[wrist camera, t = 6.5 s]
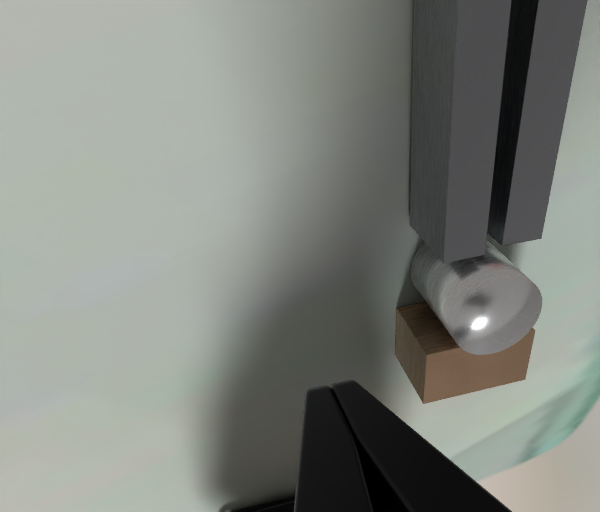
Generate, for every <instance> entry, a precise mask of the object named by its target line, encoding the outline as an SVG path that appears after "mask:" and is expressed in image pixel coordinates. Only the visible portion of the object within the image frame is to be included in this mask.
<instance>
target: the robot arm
mask: <svg viewBox="0 0 600 512" xmlns="http://www.w3.org/2000/svg"><path fill="white" fill-rule="evenodd" d="M238 512H512V511H511V510H509V509H508V508H507V507H506V506H505V505H504V504H502V503H501V502H500V501H499V500H498V499H496V498H495V497H494V496H493V495H491V494H490V493H489V492H488V491H487V490H485V489H484V488H483V487H482V486H481V485H479V484H478V483H477V482H476V481H475V480H473V479H472V478H471V477H470V476H469V475H467V474H466V473H465V472H464V471H463V470H461V469H460V468H459V467H458V466H457V465H455V464H454V463H453V462H452V461H451V460H449V459H448V458H447V457H446V456H445V455H443V454H442V453H441V452H440V451H439V450H437V449H436V448H435V447H434V446H432V445H431V444H430V443H429V442H428V441H426V440H425V439H424V438H423V437H422V436H420V435H419V434H418V433H417V432H416V431H414V430H413V429H412V428H411V427H410V426H408V425H407V424H406V423H405V422H404V421H402V420H401V419H400V418H399V417H398V416H396V415H395V414H394V413H393V412H392V411H390V410H389V409H388V408H387V407H386V406H384V405H383V404H382V403H381V402H379V401H378V400H377V399H376V398H375V397H373V396H372V395H371V394H370V393H369V392H367V391H366V390H365V389H364V388H363V387H361V386H360V385H359V384H358V383H357V382H355V381H353V380H348V381H344V382H339V383H334V384H332V385H331V386H330V387H329V386H327V385H325V386H320V387H315V388H311V389H308V390H307V391H306V393H305V402H304V412H303V423H302V433H301V443H300V454H299V464H298V475H297V485H296V495H295V497H292V498H288V499H285V500H281V501H277V502H273V503H269V504H265V505H261V506H257V507H254V508H250V509H246V510H242V511H238Z"/></svg>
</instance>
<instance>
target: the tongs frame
mask: <svg viewBox="0 0 600 512" xmlns="http://www.w3.org/2000/svg"><path fill="white" fill-rule="evenodd" d="M586 4H587V0H511V9H510V19H509V28H508V38H507V47H506V57H505V67H504V76H503V86H502V95H501V105H500V114H499V124H498V133H497V143H496V152H495V162H494V171H493V181H492V190H491V200H490V209H489V219H488V228H487V233H488V234H489V235H490V236H491V237H493V238H494V239H495V240H496V241H497V242H498V243H499V244H500V245H501V246H505V245H510V244H515V243H520V242H526V241H531V240H536V239H541V237H542V232H543V227H544V222H545V217H546V211H547V206H548V201H549V196H550V191H551V185H552V180H553V175H554V170H555V165H556V159H557V154H558V149H559V144H560V139H561V134H562V128H563V123H564V118H565V113H566V108H567V102H568V97H569V92H570V87H571V82H572V77H573V71H574V66H575V61H576V56H577V51H578V45H579V40H580V35H581V30H582V25H583V19H584V14H585V9H586ZM411 278H412V281H413V284H414V285H415V287H416V288H417V290H418V291H419V292H420V294H421V295H422V296H423V298H424V299H425V301H426V302H423V303H419V304H414V305H409V306H404V307H399V308H397V311H396V345H395V355H396V357H397V359H398V360H399V362H400V364H401V366H402V367H403V369H404V371H405V373H406V374H407V376H408V378H409V380H410V381H411V383H412V385H413V387H414V388H415V390H416V392H417V394H418V395H419V397H420V399H421V401H422V402H423V404H425V403H429V402H433V401H437V400H442V399H446V398H450V397H454V396H458V395H462V394H467V393H471V392H475V391H479V390H483V389H487V388H492V387H496V386H500V385H504V384H508V383H513V382H517V381H521V380H525V377H526V373H527V368H528V363H529V358H530V353H531V349H532V344H533V339H534V334H535V330H534V329H533V328H532V327H533V326H534V324H535V323H536V321H537V319H538V317H539V315H540V312H541V308H542V296H541V293H540V290H539V289H538V287H537V286H536V285H535V284H534V283H533V282H532V281H531V280H530V279H529V278H527V277H526V276H525V275H524V274H523V273H522V272H521V271H520V270H519V269H518V268H517V267H516V266H515V265H514V264H512V263H511V262H510V261H509V260H508V259H507V258H506V257H505V256H504V255H503V254H502V253H501V252H500V251H498V250H497V249H496V248H495V247H494V246H493V245H492V244H491V243H490V242H489V241H488V240H487V239H486V247H485V255H481V256H476V257H472V258H467V259H463V260H458V261H454V262H449V263H444V264H443V263H442V261H441V260H440V259H439V258H438V257H437V256H436V255H435V253H434V252H433V251H432V250H431V249H430V248H429V247H428V245H427V244H426V243H425V242H424V243H423V244H422V246H421V247H420V248H419V249H418V251H417V253H416V254H415V256H414V259H413V261H412V265H411Z"/></svg>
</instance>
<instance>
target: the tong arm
mask: <svg viewBox="0 0 600 512" xmlns="http://www.w3.org/2000/svg"><path fill="white" fill-rule="evenodd" d="M510 9H511V0H414V5H413V67H412V129H411V190H410V226H411V227H412V228H413V229H414V230H415V232H416V233H417V234H418V235H419V236H420V237H421V238H422V240H423V241H424V242H425V243H426V244H427V245H428V247H429V248H430V249H431V250H432V251H433V252H434V253H435V255H436V256H437V257H438V258H439V259H440V260H441V261H442V263H443V264H444V263H449V262H454V261H458V260H463V259H467V258H472V257H476V256H481V255H485V247H486V238H487V228H488V219H489V209H490V200H491V190H492V181H493V171H494V162H495V152H496V143H497V133H498V124H499V114H500V105H501V95H502V86H503V76H504V67H505V57H506V47H507V38H508V28H509V19H510Z"/></svg>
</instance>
